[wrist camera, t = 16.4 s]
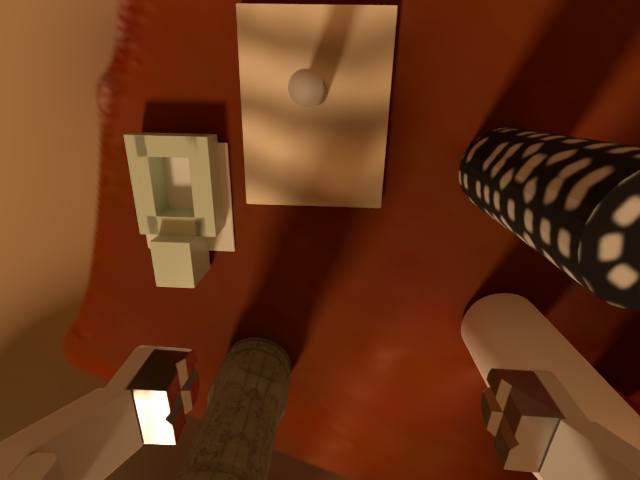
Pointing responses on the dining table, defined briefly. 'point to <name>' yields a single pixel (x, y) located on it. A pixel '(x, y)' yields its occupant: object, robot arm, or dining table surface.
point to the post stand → (315, 102)
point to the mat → (182, 197)
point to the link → (176, 224)
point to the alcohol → (543, 359)
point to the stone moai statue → (241, 414)
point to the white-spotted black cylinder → (564, 203)
